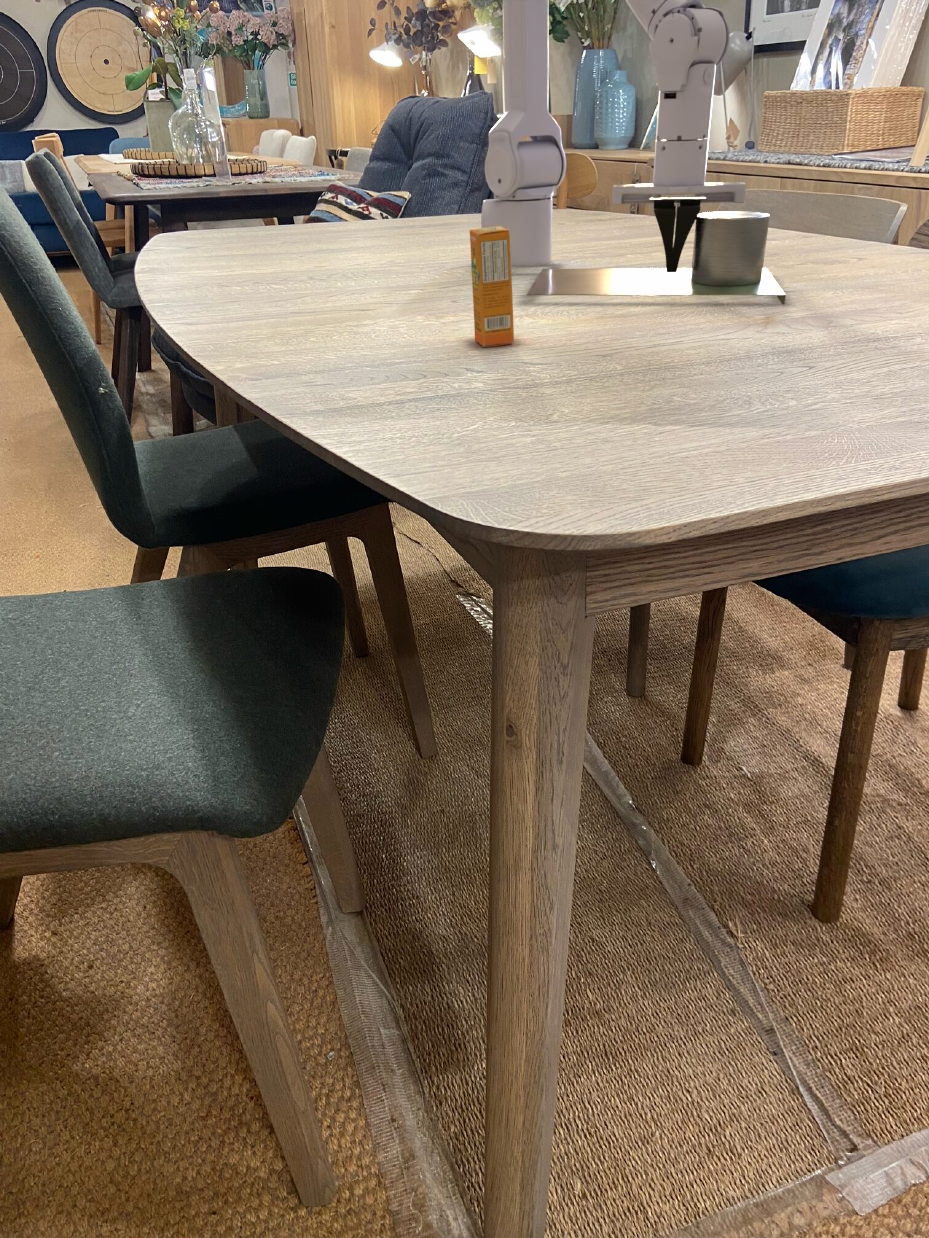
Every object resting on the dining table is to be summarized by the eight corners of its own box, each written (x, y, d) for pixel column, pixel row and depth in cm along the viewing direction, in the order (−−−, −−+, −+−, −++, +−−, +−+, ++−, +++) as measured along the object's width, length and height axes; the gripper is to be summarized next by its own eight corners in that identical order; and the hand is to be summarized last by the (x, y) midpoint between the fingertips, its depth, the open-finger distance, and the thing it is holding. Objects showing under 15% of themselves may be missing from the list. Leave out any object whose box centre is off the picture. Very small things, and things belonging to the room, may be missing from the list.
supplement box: (470, 340, 85) (467, 227, 80) (505, 337, 86) (504, 225, 81) (479, 348, 82) (477, 231, 77) (515, 344, 83) (514, 229, 78)
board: (526, 303, 100) (526, 294, 100) (542, 277, 115) (542, 268, 115) (784, 304, 95) (786, 294, 95) (765, 276, 111) (766, 268, 110)
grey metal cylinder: (691, 286, 101) (698, 219, 97) (689, 274, 108) (694, 211, 104) (764, 286, 99) (773, 218, 96) (757, 274, 106) (765, 210, 103)
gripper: (614, 143, 95) (607, 277, 102) (754, 139, 93) (738, 276, 99) (616, 141, 101) (610, 267, 108) (747, 137, 99) (733, 266, 105)
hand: (671, 271), depth 104 cm, fingers closed
